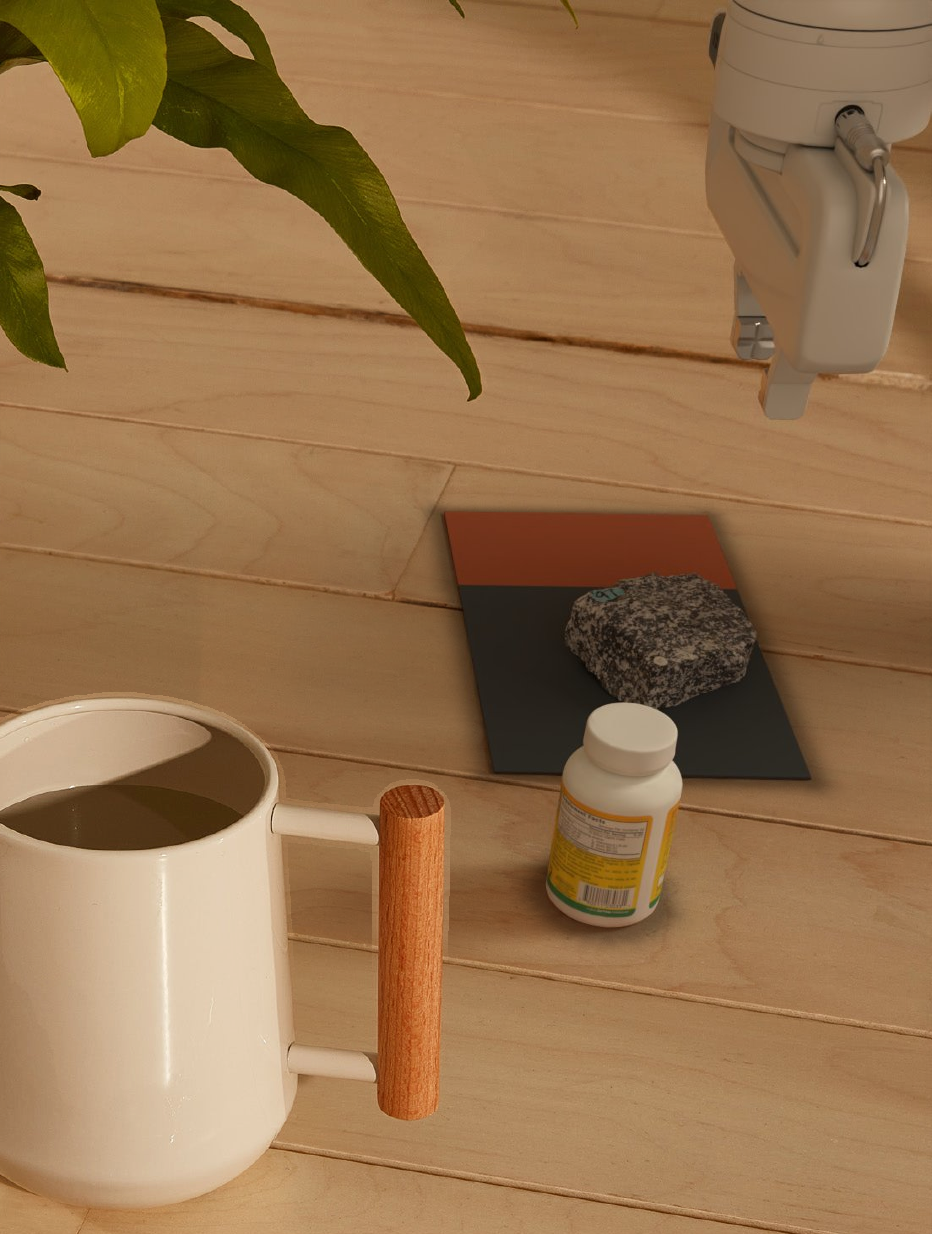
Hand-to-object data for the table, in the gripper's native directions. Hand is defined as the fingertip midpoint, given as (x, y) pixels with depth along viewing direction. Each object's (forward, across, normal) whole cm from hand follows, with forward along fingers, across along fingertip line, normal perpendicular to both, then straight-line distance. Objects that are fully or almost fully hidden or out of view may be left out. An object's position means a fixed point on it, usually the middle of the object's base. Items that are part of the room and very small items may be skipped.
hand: (764, 382), depth 98 cm
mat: (+21, +13, +2) cm, 25 cm away
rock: (+21, +10, 0) cm, 23 cm away
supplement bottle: (+21, -11, +6) cm, 25 cm away
